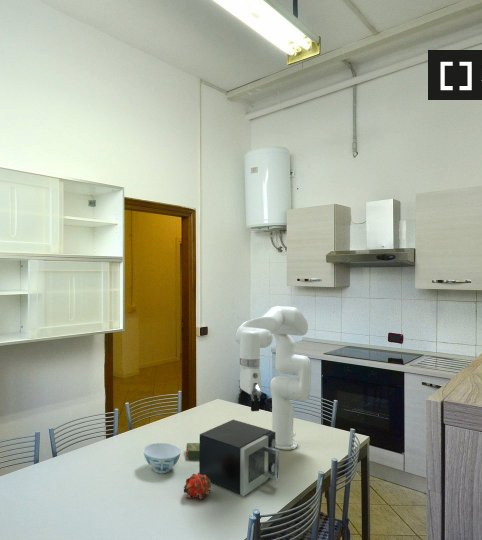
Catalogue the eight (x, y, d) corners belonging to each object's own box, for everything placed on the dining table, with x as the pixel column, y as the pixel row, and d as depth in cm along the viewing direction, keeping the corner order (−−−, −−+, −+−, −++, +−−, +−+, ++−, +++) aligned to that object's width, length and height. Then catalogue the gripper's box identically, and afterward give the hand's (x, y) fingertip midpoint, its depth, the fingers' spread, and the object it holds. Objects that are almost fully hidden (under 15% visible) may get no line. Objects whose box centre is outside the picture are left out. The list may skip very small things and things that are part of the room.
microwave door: (282, 484, 162) (282, 440, 162) (258, 502, 149) (259, 454, 149) (264, 478, 167) (264, 435, 167) (240, 494, 154) (240, 448, 154)
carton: (225, 460, 182) (225, 450, 182) (187, 459, 183) (187, 449, 183) (222, 452, 191) (222, 442, 191) (186, 451, 191) (186, 442, 191)
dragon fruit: (212, 496, 156) (187, 511, 149) (198, 475, 161) (173, 489, 155) (220, 484, 151) (194, 499, 144) (205, 463, 156) (180, 476, 150)
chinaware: (185, 465, 177) (185, 446, 177) (172, 481, 164) (172, 461, 164) (152, 458, 184) (152, 440, 184) (137, 473, 170) (137, 453, 170)
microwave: (277, 475, 170) (277, 432, 170) (245, 497, 153) (245, 449, 153) (232, 459, 184) (233, 419, 184) (199, 477, 167) (199, 434, 167)
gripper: (269, 367, 158) (269, 413, 158) (248, 358, 175) (248, 399, 175) (250, 367, 156) (250, 414, 156) (231, 358, 173) (231, 400, 173)
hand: (249, 406), depth 165 cm, fingers open, 9 cm apart
